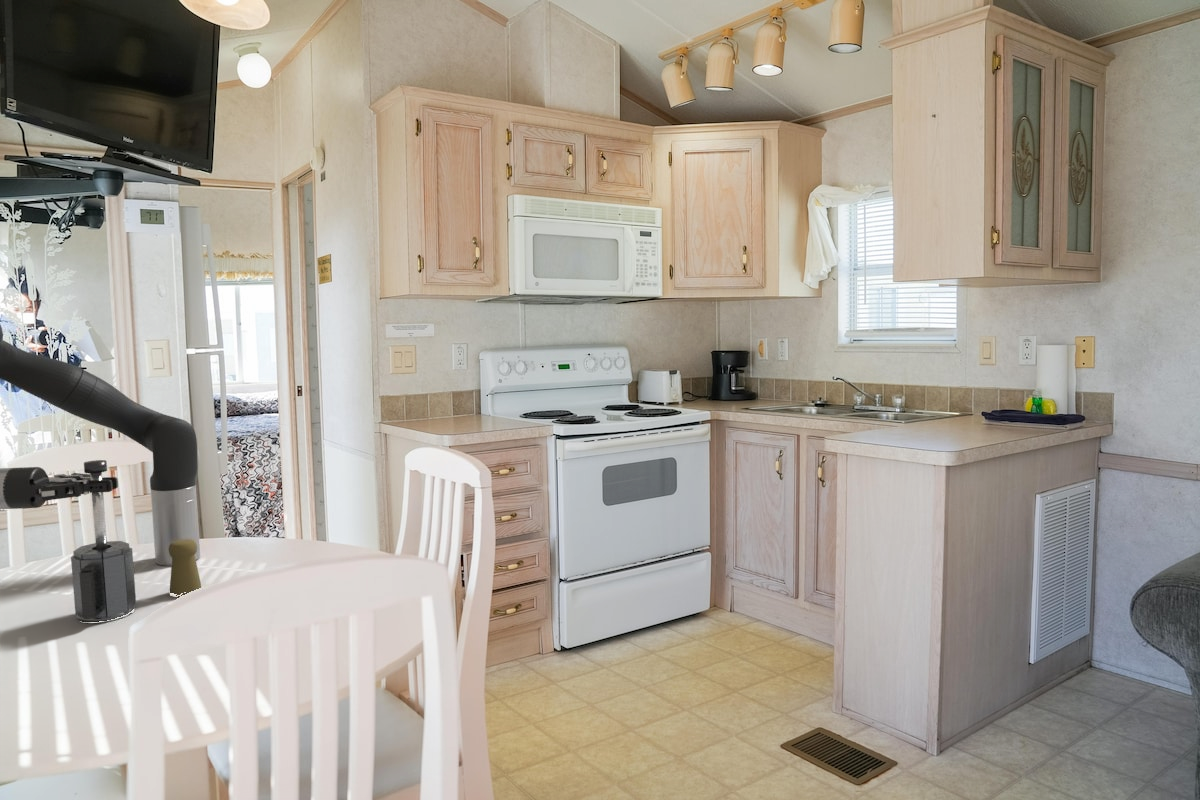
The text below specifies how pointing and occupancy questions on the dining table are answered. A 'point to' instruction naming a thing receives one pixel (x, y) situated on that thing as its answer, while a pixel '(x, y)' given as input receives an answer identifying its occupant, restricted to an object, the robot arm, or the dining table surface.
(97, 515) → the plunger
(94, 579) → the coffee press
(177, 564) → the cork
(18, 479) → the robot arm
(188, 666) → the dining table surface
